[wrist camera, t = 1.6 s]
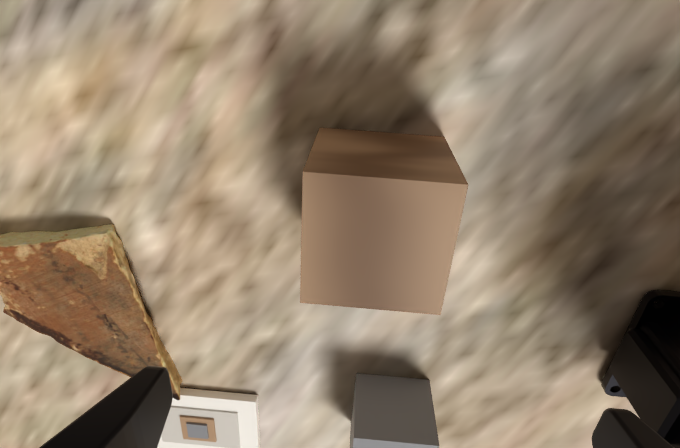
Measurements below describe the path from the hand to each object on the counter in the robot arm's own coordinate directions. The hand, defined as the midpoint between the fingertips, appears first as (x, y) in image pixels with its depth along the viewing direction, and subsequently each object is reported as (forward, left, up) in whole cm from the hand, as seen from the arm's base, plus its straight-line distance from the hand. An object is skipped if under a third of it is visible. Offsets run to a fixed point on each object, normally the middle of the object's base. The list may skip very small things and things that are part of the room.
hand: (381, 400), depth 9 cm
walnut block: (0, 0, -11) cm, 11 cm away
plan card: (+9, +16, -11) cm, 21 cm away
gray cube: (-2, +13, -11) cm, 17 cm away
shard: (+13, +7, -12) cm, 19 cm away
